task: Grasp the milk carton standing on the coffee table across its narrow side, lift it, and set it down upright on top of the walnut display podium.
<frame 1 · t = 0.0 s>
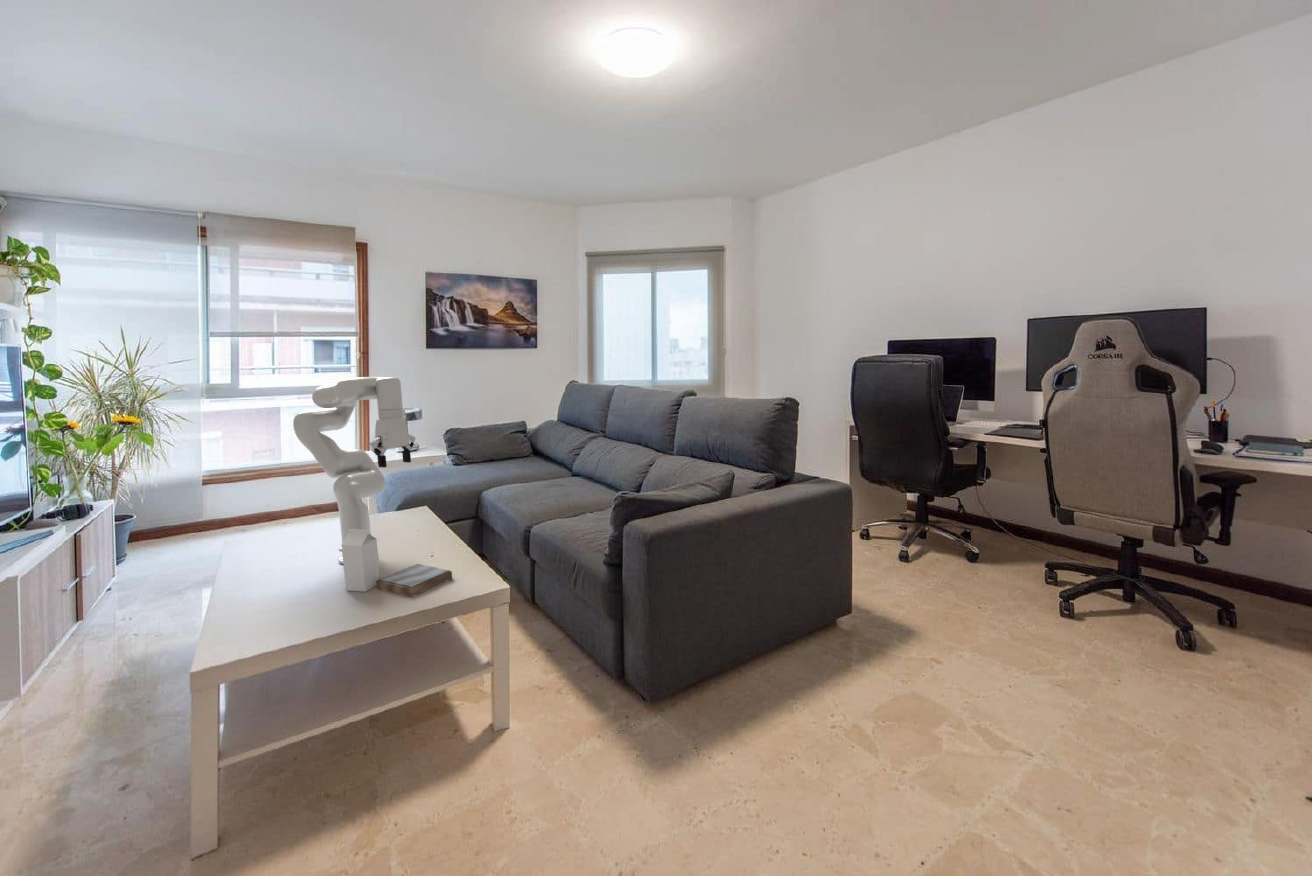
hand: (395, 464, 193), 37 cm above the table, tool pointing down, fingers open, 9 cm apart
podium: (415, 583, 184), on the table
milk carton: (363, 587, 182), on the table
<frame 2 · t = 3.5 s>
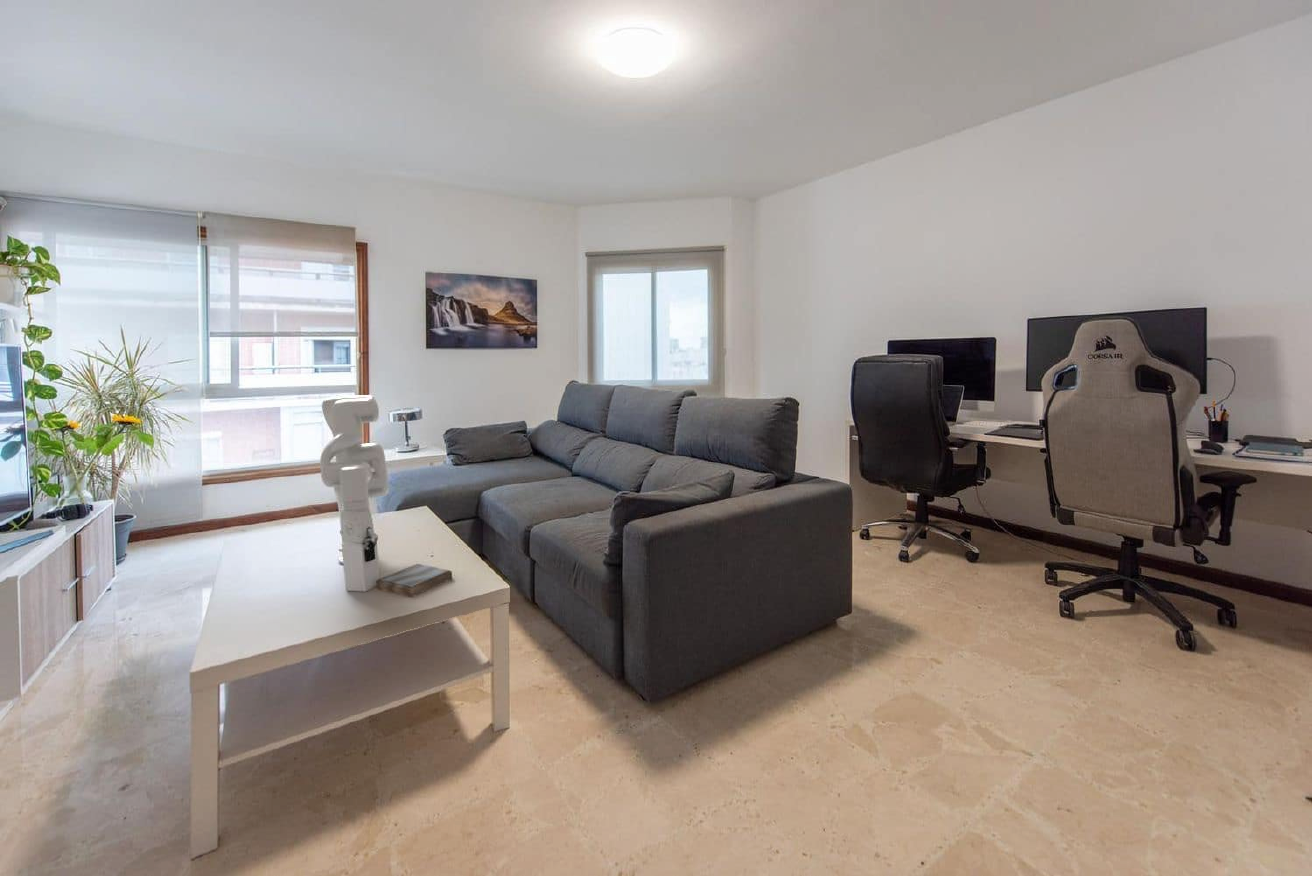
hand: (360, 558, 180), 10 cm above the table, tool pointing down, fingers closed on milk carton, 8 cm apart
milk carton: (363, 587, 182), on the table, touching gripper
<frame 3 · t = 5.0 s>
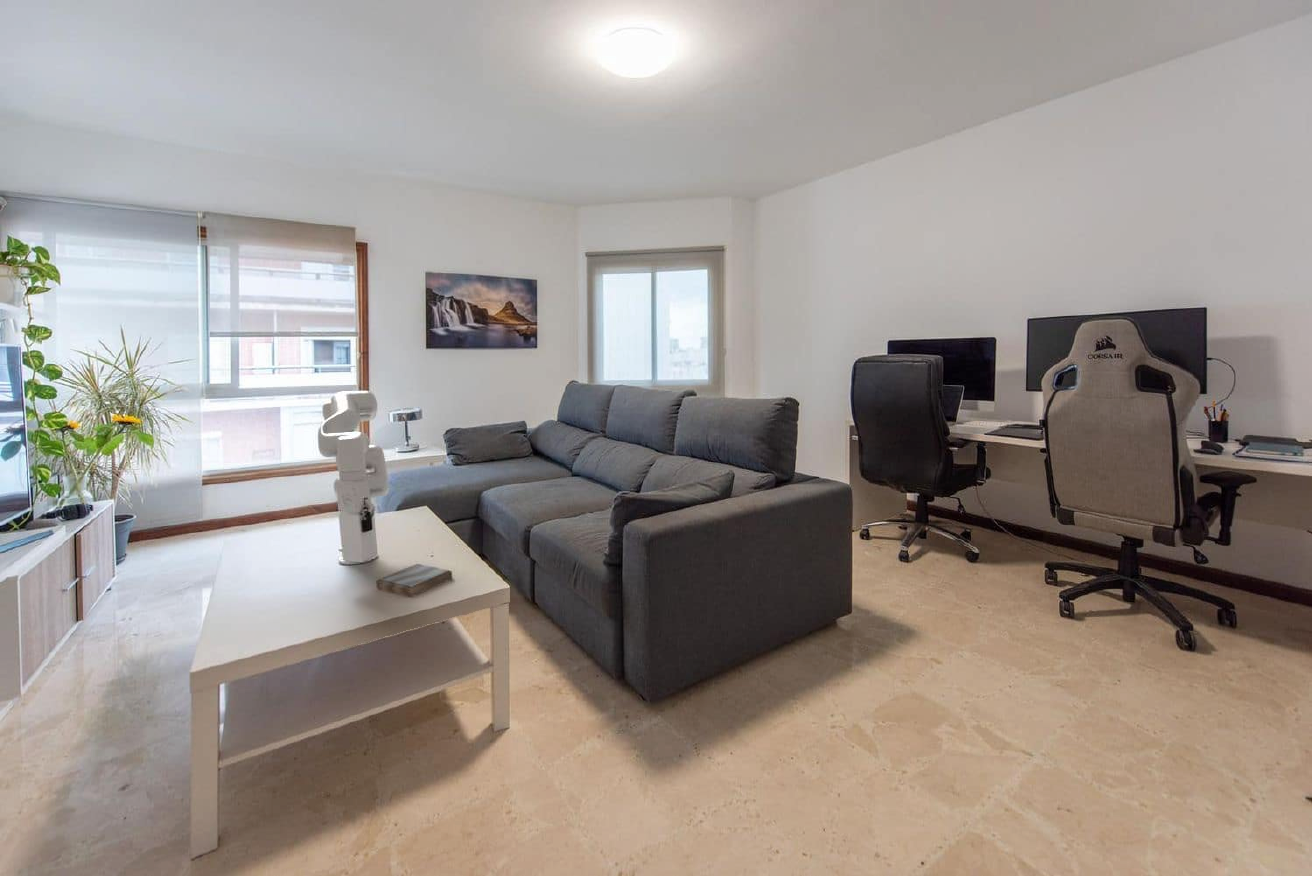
hand: (358, 529, 180), 19 cm above the table, tool pointing down, fingers closed on milk carton, 8 cm apart
milk carton: (360, 558, 181), point 9 cm above the table, touching gripper
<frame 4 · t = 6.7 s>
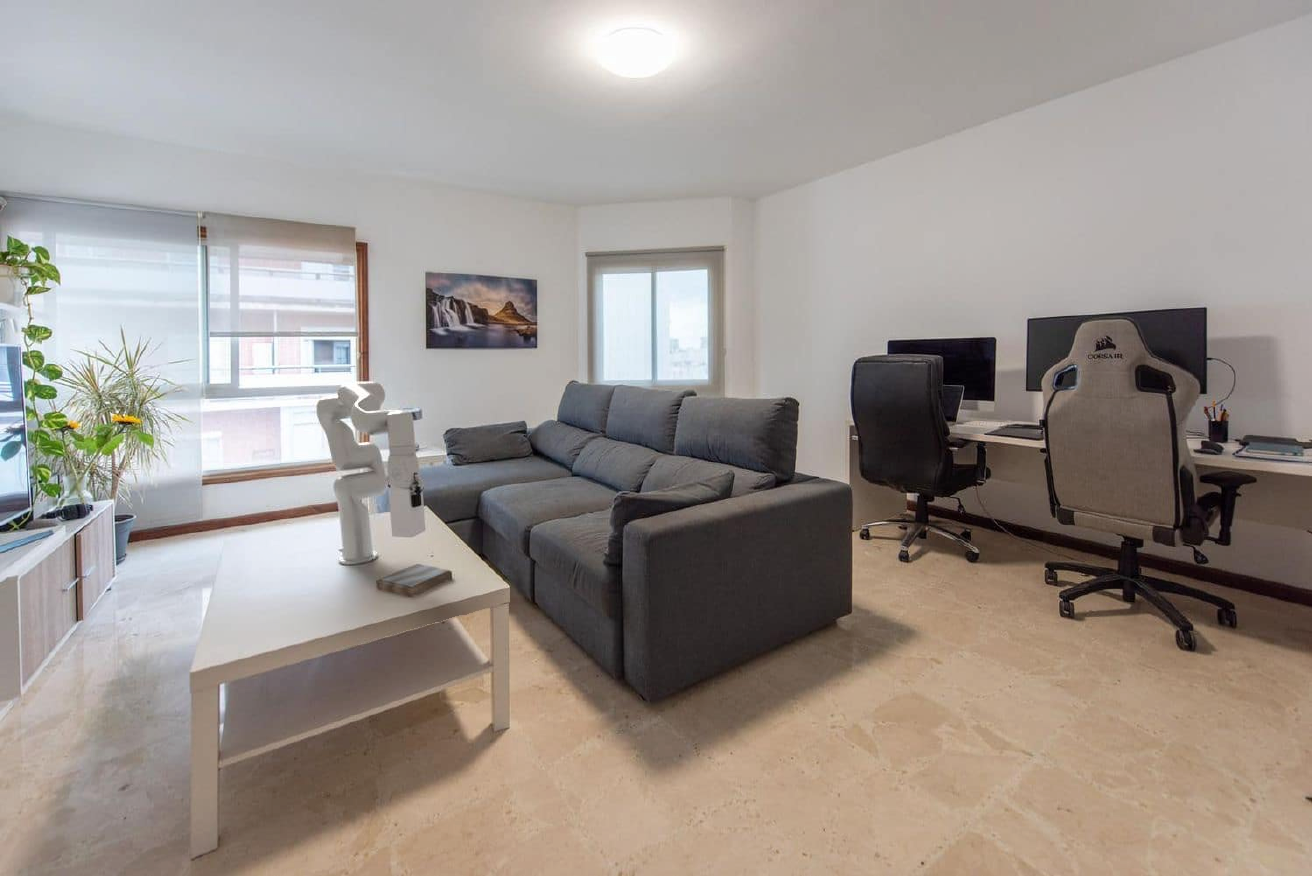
hand: (407, 504, 180), 26 cm above the table, tool pointing down, fingers closed on milk carton, 8 cm apart
milk carton: (409, 534, 182), point 16 cm above the table, touching gripper
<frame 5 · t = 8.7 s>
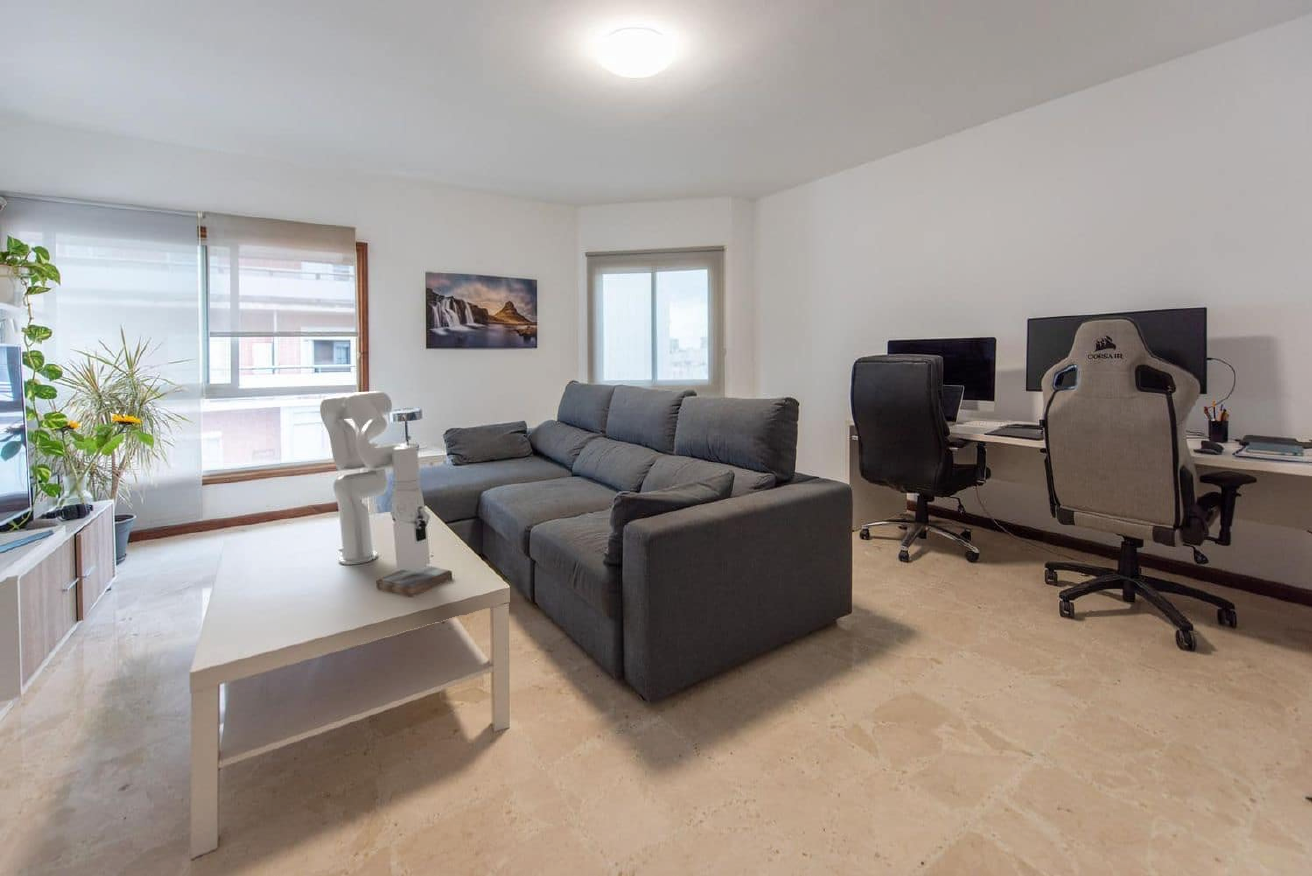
hand: (411, 538, 182), 15 cm above the table, tool pointing down, fingers closed on milk carton, 8 cm apart
milk carton: (413, 567, 183), point 5 cm above the table, touching gripper
when the fingers open (13 cm above the table, at t = 10.2 s): milk carton stays where it is, resting on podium.
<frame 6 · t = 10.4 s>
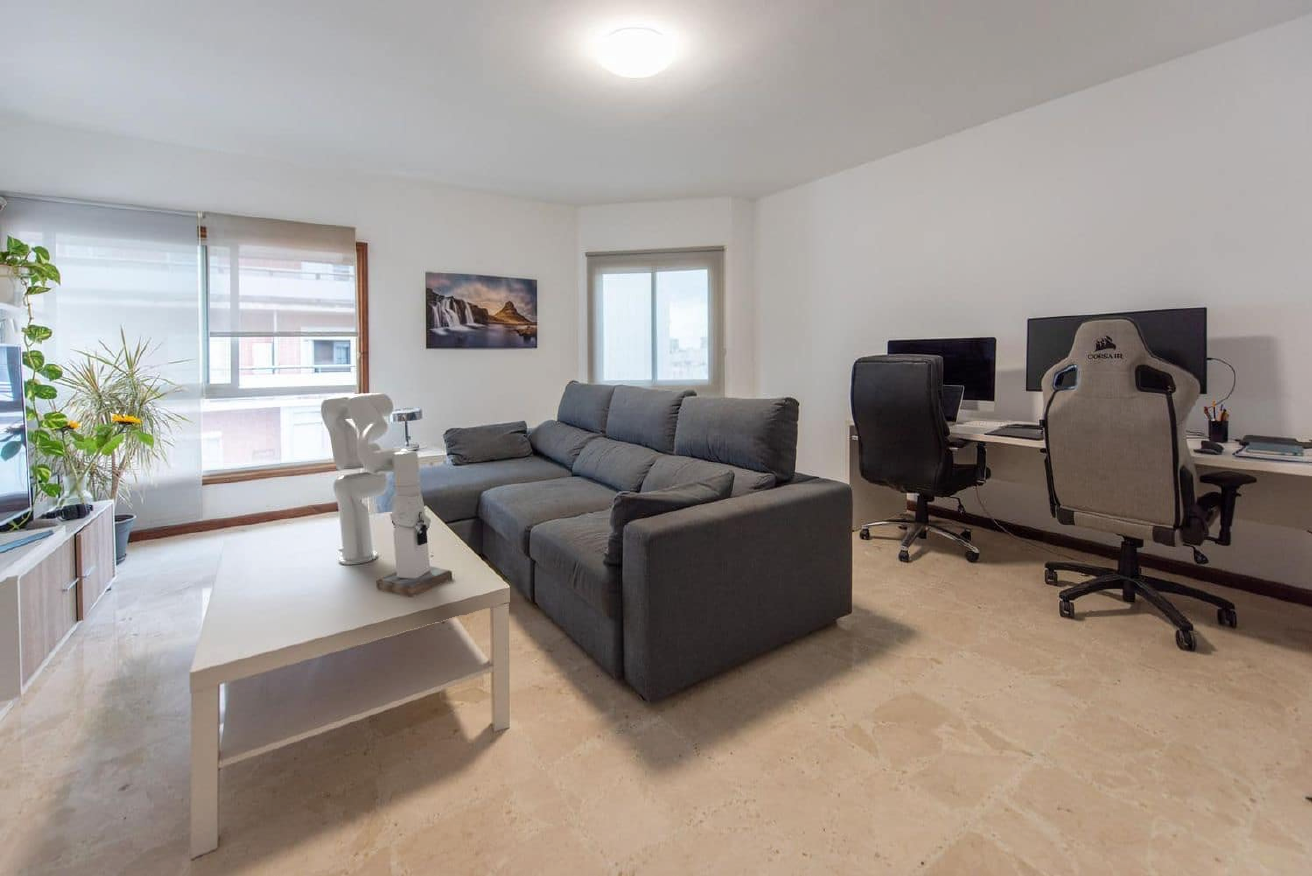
hand: (411, 542, 182), 14 cm above the table, tool pointing down, fingers open, 9 cm apart
milk carton: (413, 575, 184), point 3 cm above the table, touching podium
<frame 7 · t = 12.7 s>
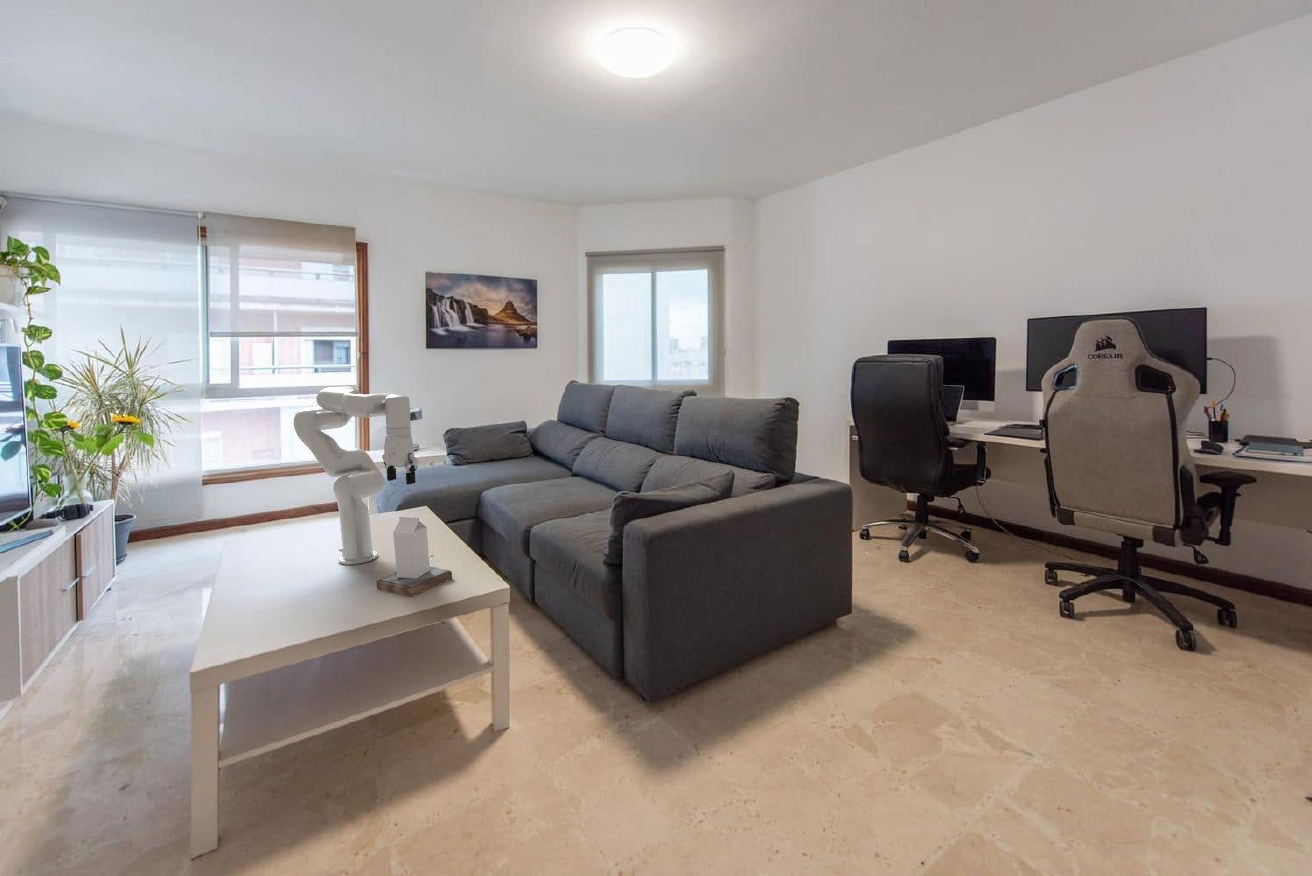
hand: (401, 481, 193), 31 cm above the table, tool pointing down, fingers open, 9 cm apart
nothing on the table moved.
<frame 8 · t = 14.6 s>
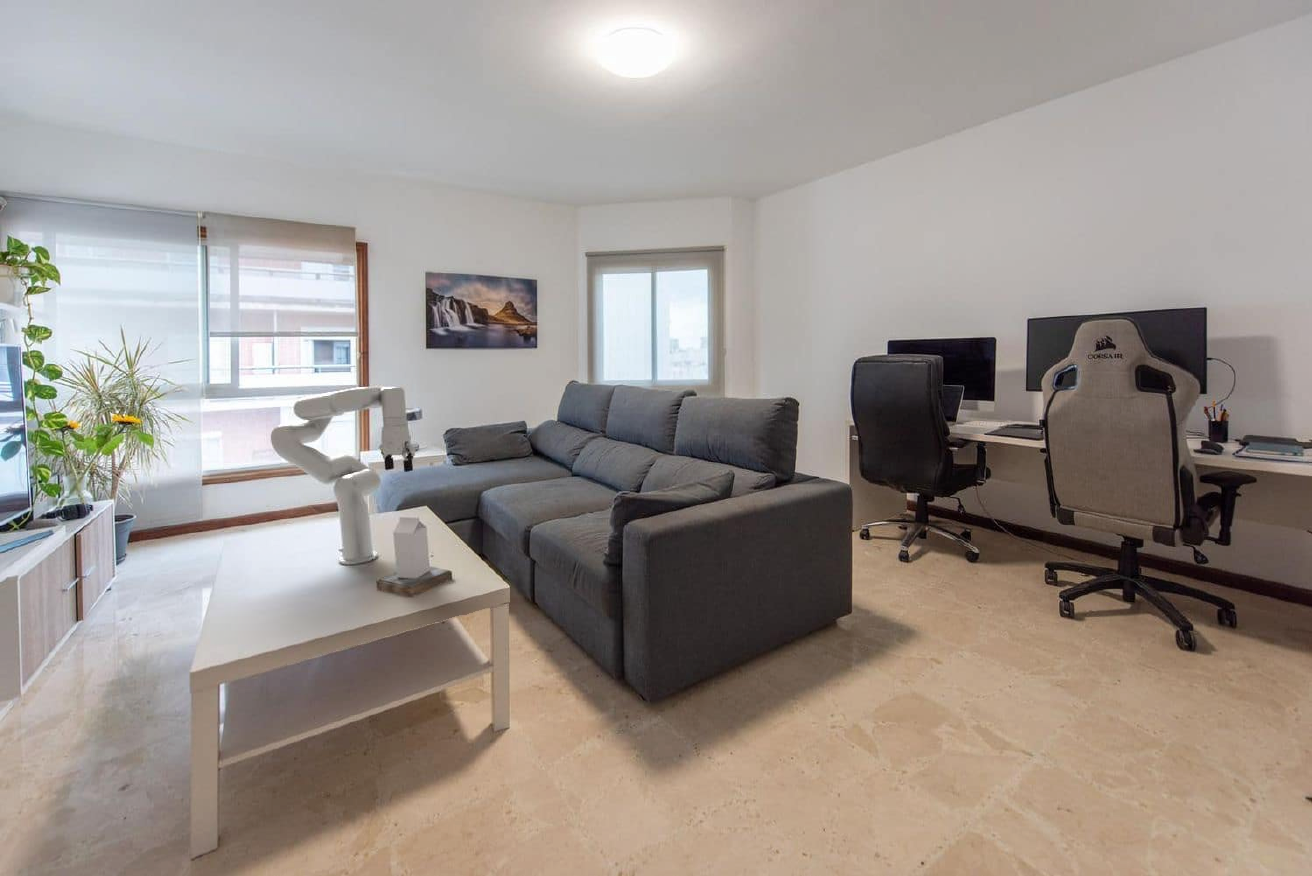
hand: (399, 470, 201), 33 cm above the table, tool pointing down, fingers open, 9 cm apart
nothing on the table moved.
at the end: milk carton inside the target area on the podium (0.3 cm from its centre), point 2.8 cm above the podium's base; milk carton tilted 0°; the gripper is holding nothing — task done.
